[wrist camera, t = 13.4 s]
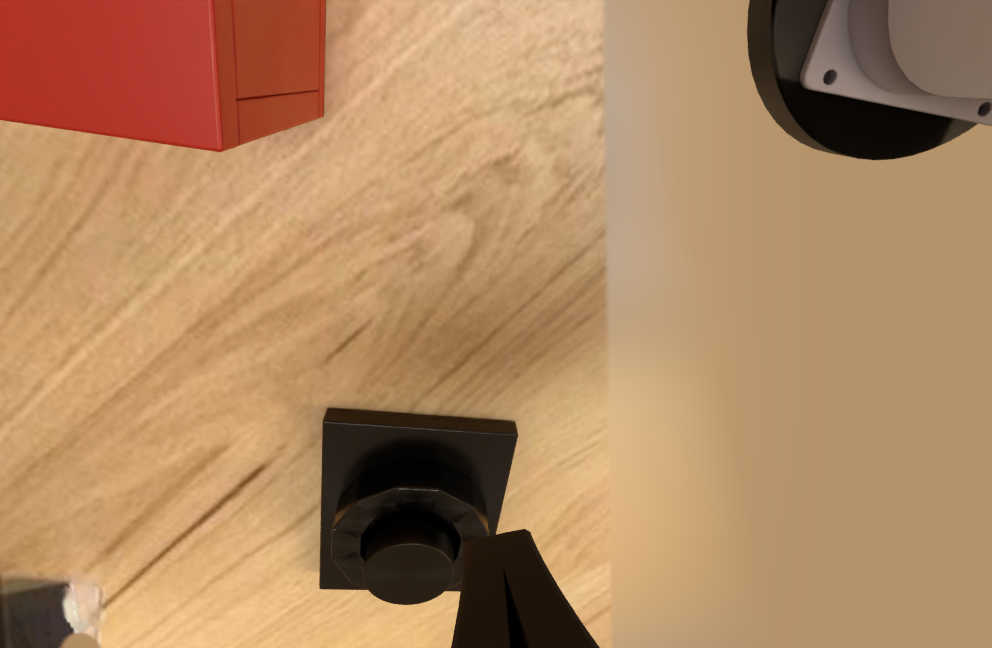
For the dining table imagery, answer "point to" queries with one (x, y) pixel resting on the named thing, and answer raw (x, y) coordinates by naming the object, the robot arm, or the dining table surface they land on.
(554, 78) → the dining table surface
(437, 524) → the alarm button
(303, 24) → the cabinet
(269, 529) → the dining table surface
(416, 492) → the block
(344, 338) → the dining table surface
